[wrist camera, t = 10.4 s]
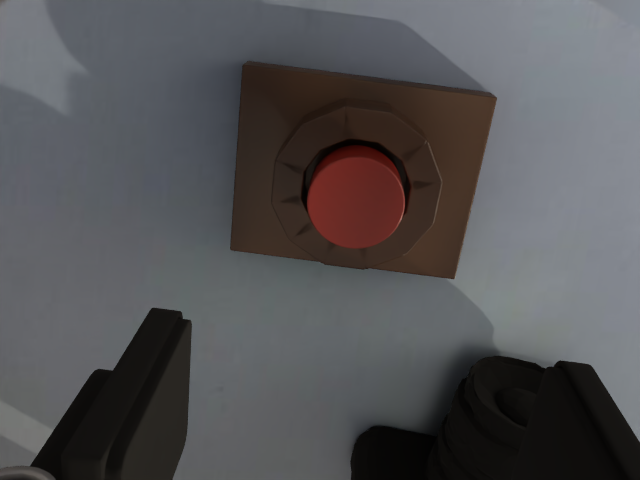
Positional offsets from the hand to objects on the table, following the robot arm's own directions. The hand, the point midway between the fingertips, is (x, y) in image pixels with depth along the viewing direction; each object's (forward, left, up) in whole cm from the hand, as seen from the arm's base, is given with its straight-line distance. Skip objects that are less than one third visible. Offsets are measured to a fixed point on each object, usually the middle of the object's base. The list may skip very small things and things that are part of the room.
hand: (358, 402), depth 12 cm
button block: (0, 0, -16) cm, 16 cm away
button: (0, 0, -13) cm, 13 cm away
